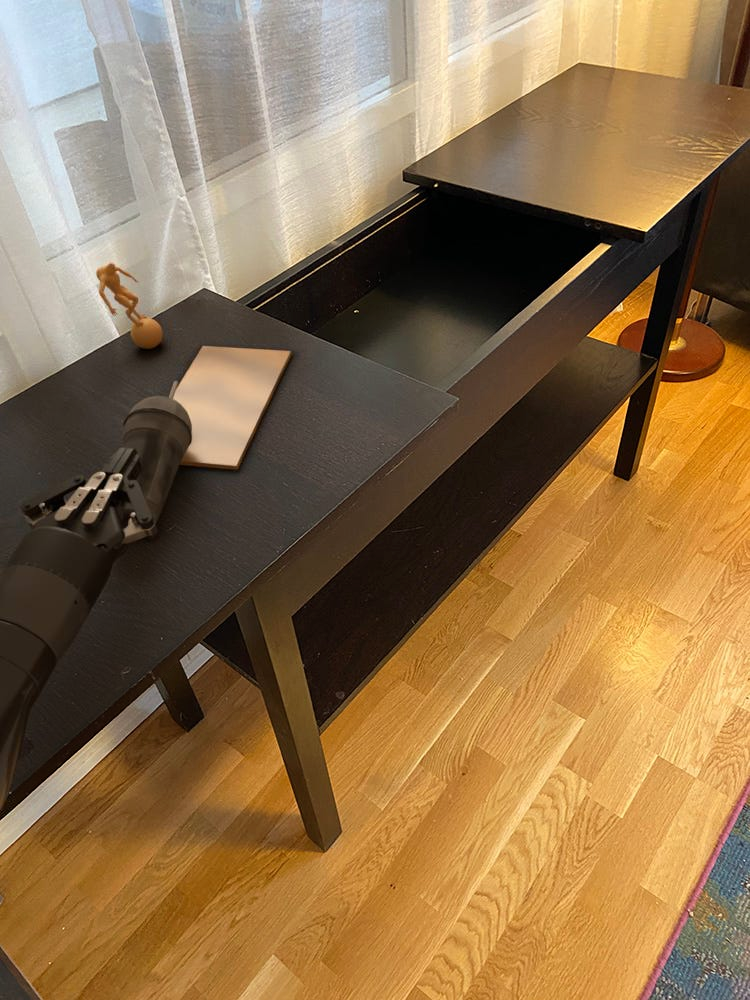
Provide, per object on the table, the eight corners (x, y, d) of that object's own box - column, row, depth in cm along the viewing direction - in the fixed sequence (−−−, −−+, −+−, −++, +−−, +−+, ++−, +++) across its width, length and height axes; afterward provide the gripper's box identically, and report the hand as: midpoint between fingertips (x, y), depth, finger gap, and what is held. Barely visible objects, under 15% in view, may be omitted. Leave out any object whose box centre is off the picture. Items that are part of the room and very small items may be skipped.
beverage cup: (86, 496, 74) (137, 348, 86) (102, 537, 80) (147, 393, 92) (163, 504, 74) (203, 355, 86) (173, 544, 80) (209, 400, 92)
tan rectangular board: (237, 470, 85) (236, 466, 85) (135, 461, 87) (134, 457, 87) (291, 354, 100) (291, 350, 100) (203, 349, 102) (202, 345, 102)
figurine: (155, 364, 101) (128, 279, 92) (111, 364, 101) (80, 280, 93) (174, 329, 106) (150, 246, 98) (132, 328, 107) (105, 246, 99)
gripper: (103, 577, 58) (187, 429, 70) (-53, 558, 61) (54, 418, 73) (131, 636, 64) (205, 489, 75) (-13, 617, 66) (80, 477, 78)
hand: (131, 454), depth 74 cm, fingers closed
